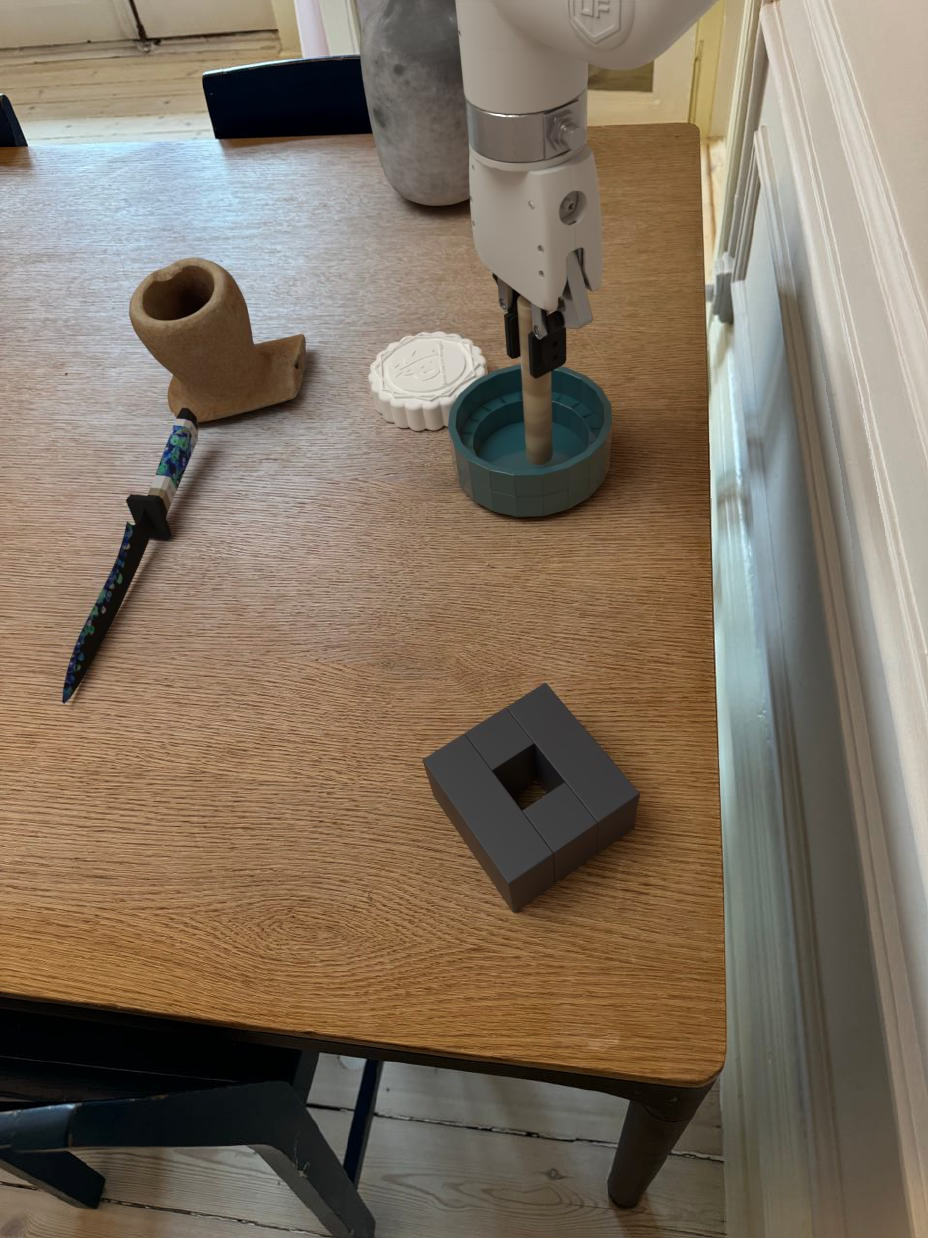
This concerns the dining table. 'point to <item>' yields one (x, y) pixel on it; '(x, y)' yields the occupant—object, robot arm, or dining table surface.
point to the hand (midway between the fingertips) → (536, 358)
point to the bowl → (497, 449)
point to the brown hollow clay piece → (212, 342)
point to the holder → (553, 825)
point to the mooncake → (424, 378)
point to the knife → (135, 545)
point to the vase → (417, 99)
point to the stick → (534, 396)
